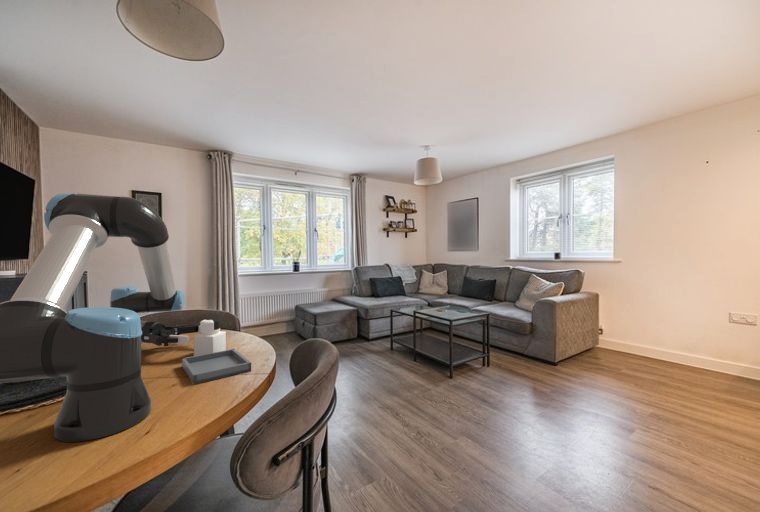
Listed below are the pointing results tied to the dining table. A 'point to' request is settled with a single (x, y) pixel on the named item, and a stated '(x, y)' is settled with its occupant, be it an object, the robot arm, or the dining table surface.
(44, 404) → the dining table surface
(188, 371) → the tray
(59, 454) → the dining table surface
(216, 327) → the medicine bottle
